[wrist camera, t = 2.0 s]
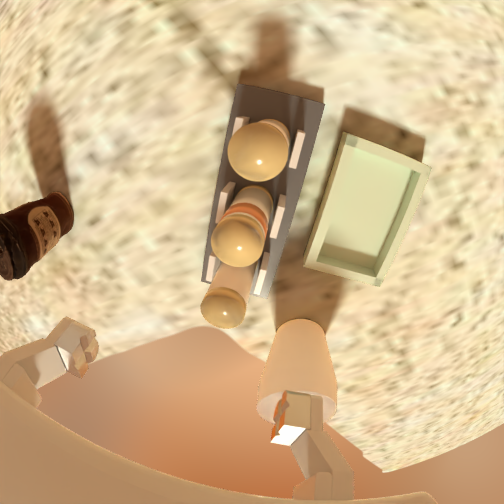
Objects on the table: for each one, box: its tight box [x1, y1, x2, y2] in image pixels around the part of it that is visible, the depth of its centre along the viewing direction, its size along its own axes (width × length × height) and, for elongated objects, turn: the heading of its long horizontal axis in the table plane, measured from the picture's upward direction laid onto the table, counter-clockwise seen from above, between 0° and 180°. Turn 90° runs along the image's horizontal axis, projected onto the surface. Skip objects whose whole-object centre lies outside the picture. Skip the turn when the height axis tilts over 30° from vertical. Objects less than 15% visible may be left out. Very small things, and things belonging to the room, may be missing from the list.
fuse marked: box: [211, 184, 273, 267], centre depth 24 cm, size 4×4×9 cm
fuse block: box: [201, 84, 325, 299], centre depth 27 cm, size 22×8×5 cm, turn 168°
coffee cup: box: [0, 192, 73, 280], centre depth 28 cm, size 9×8×13 cm
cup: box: [257, 319, 338, 424], centre depth 32 cm, size 9×9×12 cm
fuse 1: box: [201, 260, 258, 329], centre depth 27 cm, size 4×4×9 cm
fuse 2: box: [228, 119, 290, 181], centre depth 20 cm, size 4×4×9 cm
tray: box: [304, 132, 432, 287], centre depth 27 cm, size 14×9×2 cm, turn 168°
